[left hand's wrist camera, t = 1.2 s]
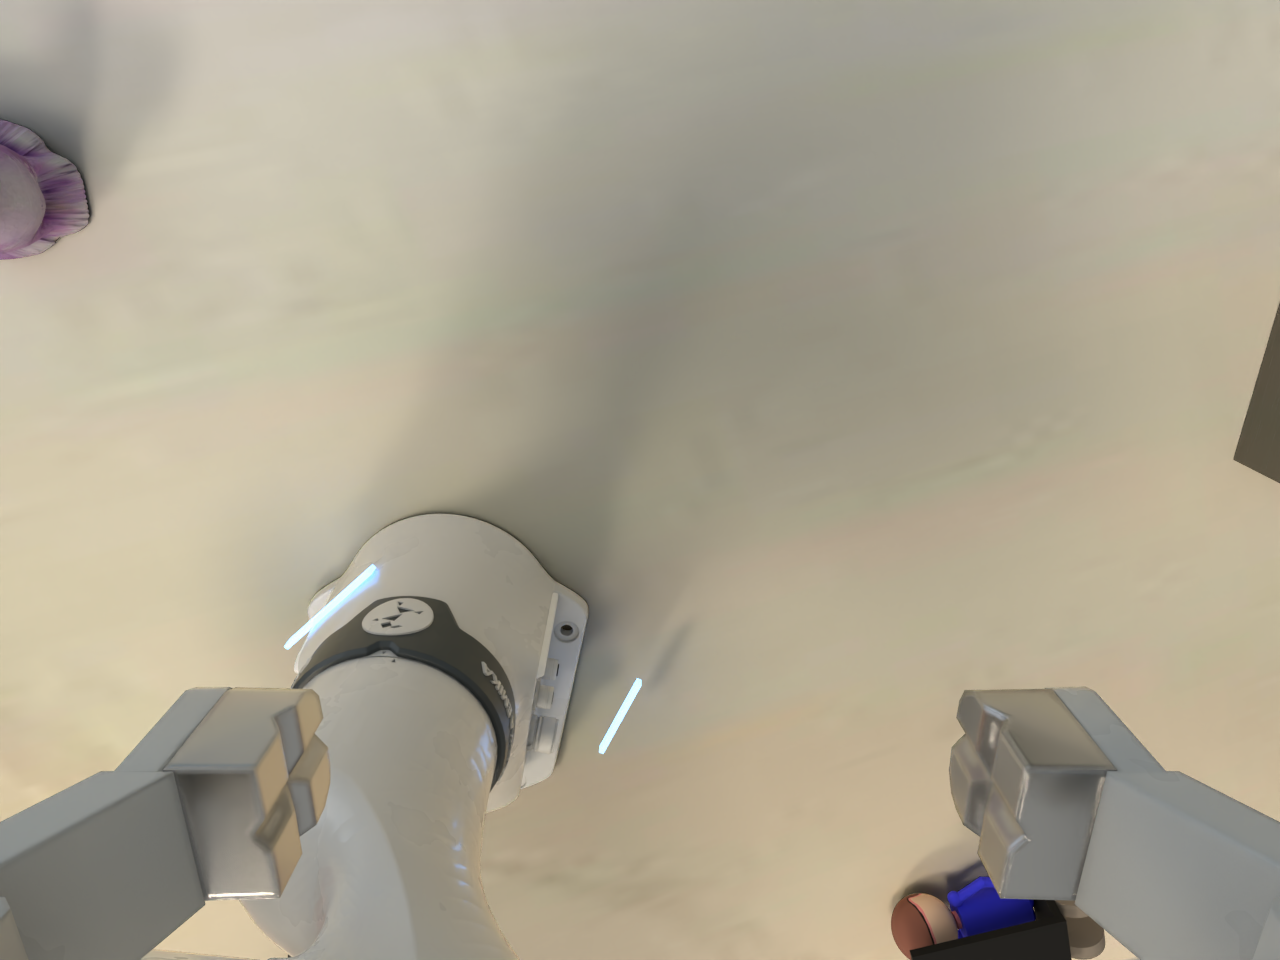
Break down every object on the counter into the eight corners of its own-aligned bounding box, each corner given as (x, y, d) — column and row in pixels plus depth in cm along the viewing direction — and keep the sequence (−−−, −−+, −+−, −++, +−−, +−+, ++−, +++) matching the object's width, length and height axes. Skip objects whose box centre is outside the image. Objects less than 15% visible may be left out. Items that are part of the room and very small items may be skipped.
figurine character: (1055, 824, 65) (874, 881, 65) (1118, 902, 58) (915, 967, 58) (1064, 885, 67) (889, 941, 67) (1125, 968, 60) (929, 1030, 60)
